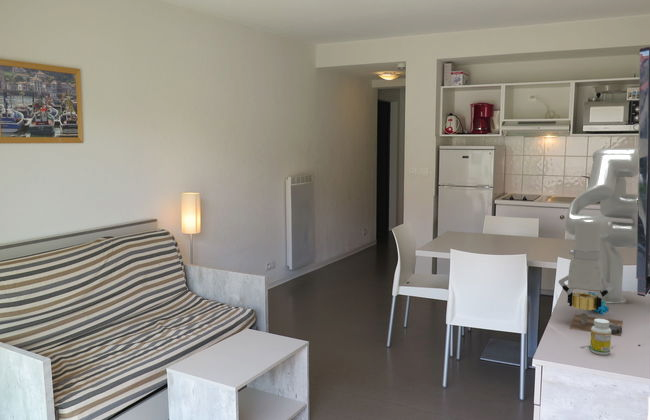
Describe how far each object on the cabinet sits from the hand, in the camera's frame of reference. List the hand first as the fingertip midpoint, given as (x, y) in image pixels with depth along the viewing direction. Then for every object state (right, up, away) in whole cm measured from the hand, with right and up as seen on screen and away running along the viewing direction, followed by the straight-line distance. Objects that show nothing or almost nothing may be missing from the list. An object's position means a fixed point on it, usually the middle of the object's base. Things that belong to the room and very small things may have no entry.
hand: (584, 306), depth 178 cm
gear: (+13, -6, +16) cm, 21 cm away
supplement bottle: (-5, -10, -20) cm, 23 cm away
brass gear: (0, 0, 0) cm, 0 cm away
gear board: (+5, -7, +1) cm, 9 cm away
